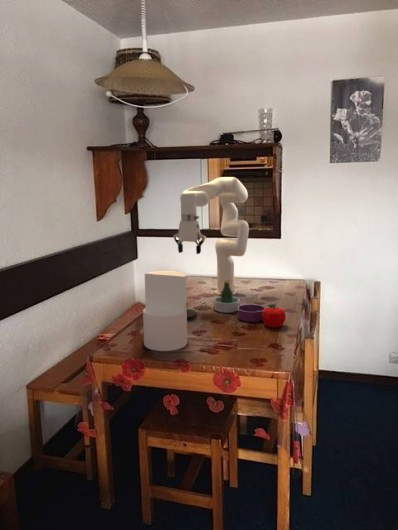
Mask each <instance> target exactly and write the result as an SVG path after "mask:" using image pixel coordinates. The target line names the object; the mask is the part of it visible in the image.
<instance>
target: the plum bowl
mask: <svg viewBox="0 0 398 530" xmlns="http://www.w3.org/2000/svg"><path fill="white" fill-rule="evenodd" d="M265 308H266V307H265V306H263V305H261V304H253V303H252V304H251V303H250V304H249V303H247V304H240V306H239V307H238V310H237V319H238V320H240V321H243V322H246V323H257V322H258V323H259V322H261V321H263V317H262V313H263V309H265Z"/></svg>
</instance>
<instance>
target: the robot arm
mask: <svg viewBox="0 0 398 530" xmlns="http://www.w3.org/2000/svg"><path fill="white" fill-rule="evenodd" d="M216 198H218V200H219V203H220V205H221V206H222V218H221V225H220V233H221V235H222V236H224V237H222V238H219V239H217V240H216V241H215V244H214V248H215V254H216V289H215V290H214V294H215V295H216V296H221V290H223V288H224V281H230V288H231V290H232V291H233V296H234V295H236V294H237V293H238V292H237V290H236V288H239V284H238V283H236V284H235V261H234V259H233V258H232V257H243V256H245V253H246V251H247V247H248V239H249V232H250V228H249V227H250V226H249V222H247V221H246V220H245V219H244V220H243V219H238V218H239V210H238V208H237V206H236V204H244V203H245V202H246V201H247V200H248V198H249V194H248V190H247V188H246V187H245V186H244V184H243V183H242V182H241V181H240V180H239V179H238V178H236V177H235V176H219V177H217V178H214V179H212V180H211V181H209V182H207V183H203V184H199V185H196V186H191V187H189V188H187V189H184V190H183V191H182V192H181V194H180V197H179V201H180V221H179V224H178V232H177V233H175V234H173V235H172V237H173V240H174V242H175V243H176V244H177V251H178V254H181V253H183V252H184V246H183V245H184V244H183V243H184V242H189V243H191V242H192V243H195V244H196V246H195V251H196V255H199V254H201V252H202V246H203V244H204V243H205V240H206V238H207V236H206V235H204V234H202V233H201V227H200V222H199V220H198V219H200V216H199V215H198V213H197V211H198V210H197V208H198V207H199V208H201V207H205V206H207V205H208V204H209V201H210V200H214V199H216ZM228 237H230V238H228ZM231 237H234V238H231Z"/></svg>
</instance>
